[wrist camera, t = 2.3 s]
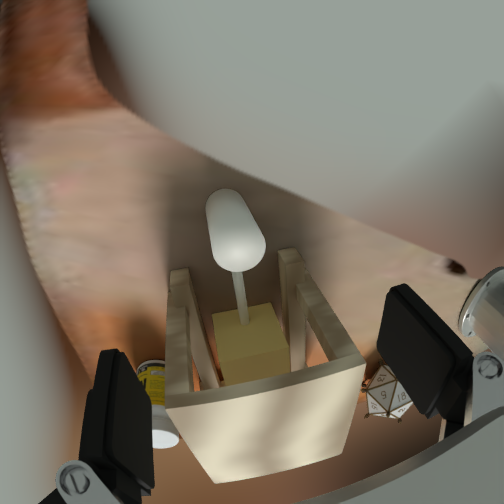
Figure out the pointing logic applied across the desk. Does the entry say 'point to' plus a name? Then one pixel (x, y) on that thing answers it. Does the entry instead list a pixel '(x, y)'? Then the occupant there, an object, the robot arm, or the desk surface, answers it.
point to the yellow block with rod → (243, 296)
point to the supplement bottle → (158, 403)
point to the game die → (386, 394)
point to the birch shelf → (262, 386)
